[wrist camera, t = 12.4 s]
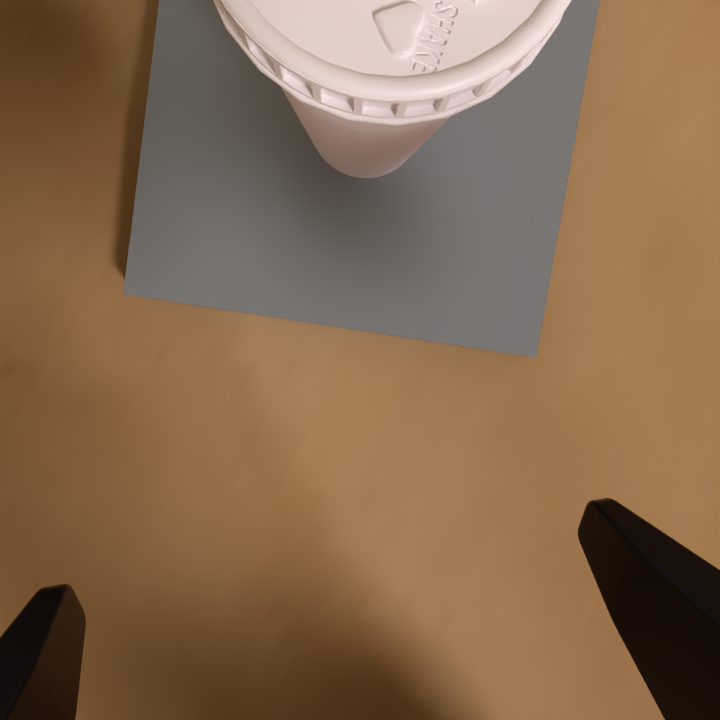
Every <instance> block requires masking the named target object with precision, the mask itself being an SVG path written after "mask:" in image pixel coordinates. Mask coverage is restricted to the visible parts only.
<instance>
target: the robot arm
mask: <svg viewBox="0 0 720 720" xmlns="http://www.w3.org/2000/svg"><path fill="white" fill-rule="evenodd" d="M578 537H579V541H580V544H581V546H582V549H583V551H584V554H585V556H586V558H587V561H588V563H589V566H590V568H591V571H592V573H593V575H594V578H595V580H596V583H597V585H598V587H599V590H600V592H601V595H602V597H603V600H604V602H605V604H606V607H607V609H608V611H609V614H610V616H611V618H612V620H613V622H614V624H615V626H616V628H617V630H618V632H619V634H620V636H621V638H622V640H623V642H624V644H625V645H626V647H627V649H628V651H629V653H630V655H631V657H632V659H633V660H634V662H635V664H636V666H637V668H638V670H639V672H640V674H641V675H642V677H643V679H644V681H645V683H646V685H647V687H648V689H649V690H650V692H651V694H652V696H653V698H654V700H655V702H656V704H657V705H658V707H659V709H660V711H661V713H662V715H663V717H664V719H665V720H720V570H719V569H717V568H716V567H714V566H713V565H711V564H710V563H708V562H707V561H705V560H704V559H702V558H701V557H699V556H698V555H696V554H695V553H693V552H692V551H690V550H689V549H687V548H686V547H684V546H683V545H681V544H680V543H678V542H677V541H675V540H674V539H672V538H671V537H669V536H668V535H666V534H665V533H663V532H662V531H660V530H659V529H657V528H656V527H654V526H653V525H651V524H650V523H648V522H647V521H645V520H644V519H642V518H641V517H639V516H638V515H636V514H635V513H633V512H632V511H630V510H629V509H627V508H626V507H624V506H623V505H621V504H620V503H618V502H617V501H615V500H613V499H610V498H604V499H598V500H592V501H590V502H589V503H588V504H587V505H586V508H585V511H584V514H583V516H582V519H581V522H580V525H579V528H578ZM85 626H86V619H85V613H84V610H83V608H82V606H81V604H80V602H79V600H78V598H77V596H76V594H75V592H74V590H73V589H72V587H71V586H70V585H68V584H61V585H55V586H48V587H44V588H42V589H40V590H39V591H38V592H37V593H36V594H35V595H34V596H33V597H32V598H31V600H30V601H29V602H28V603H27V605H26V606H25V607H24V608H23V610H22V611H21V612H20V613H19V615H18V616H17V617H16V618H15V620H14V621H13V622H12V623H11V624H10V626H9V627H8V628H7V629H6V631H5V632H4V633H3V634H2V636H1V637H0V720H75V717H76V709H77V700H78V691H79V682H80V673H81V663H82V654H83V645H84V636H85Z"/></svg>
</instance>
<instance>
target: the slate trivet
mask: <svg viewBox="0 0 720 720" xmlns="http://www.w3.org/2000/svg"><path fill="white" fill-rule="evenodd" d="M598 6H599V0H571V2H570V4H569V5H568V7H567V8H566V10H565V11H564V13H563V16H562V18H561V21H560V23H559V25H558V26H557V28H556V29H555V31H554V32H553V33H552V35H551V36H550V38H549V39H548V40H547V42H546V43H545V45H544V46H543V47H542V49H541V50H540V52H539V53H538V54H537V56H536V57H535V59H534V60H533V62H532V63H531V64H530V66H528V67H527V68H526V69H525V70H524V71H522V72H521V73H520V74H519V75H518V76H516V77H515V78H514V79H513V80H512V81H510V82H509V83H508V84H507V85H506V86H504V87H503V88H502V89H501V90H500V91H498V92H497V93H496V94H495V95H494V96H492V97H491V98H489V99H487V100H485V101H483V102H480V103H478V104H476V105H474V106H472V107H469V108H467V109H465V110H463V111H461V112H458V113H456V114H454V115H452V116H451V117H450V118H449V119H448V120H447V121H445V122H444V123H443V124H442V125H441V126H440V127H439V128H438V129H437V130H436V131H435V132H434V133H433V134H432V135H431V136H430V137H429V138H428V139H427V140H426V141H425V142H424V143H423V144H422V145H421V146H420V147H419V148H418V149H417V150H416V151H415V152H414V153H413V154H412V155H411V156H410V157H409V158H408V159H407V160H406V161H405V162H404V163H403V164H402V165H401V166H399V167H398V168H397V169H395V170H394V171H392V172H390V173H388V174H385V175H383V176H379V177H374V178H357V177H352V176H349V175H346V174H344V173H341V172H339V171H338V170H336V169H334V168H333V167H332V166H330V165H329V164H328V163H327V162H326V161H325V160H324V159H323V158H322V156H321V155H320V154H319V152H318V151H317V149H316V147H315V145H314V144H313V142H312V140H311V138H310V137H309V135H308V133H307V132H306V130H305V128H304V126H303V125H302V123H301V121H300V119H299V118H298V116H297V114H296V112H295V111H294V109H293V107H292V105H291V104H290V102H289V100H288V98H287V97H286V95H285V93H284V91H283V90H282V88H281V86H279V85H278V84H277V83H275V82H274V81H273V80H271V79H270V78H269V77H267V76H266V75H265V74H263V73H262V72H261V71H259V69H258V68H257V67H256V66H255V64H254V63H253V62H252V61H251V59H250V58H249V57H248V56H247V54H246V53H245V52H244V51H243V49H242V48H241V47H240V46H239V44H238V43H237V42H236V41H235V39H234V38H233V37H232V36H231V34H230V33H229V32H228V31H227V29H226V28H225V25H224V23H223V21H222V19H221V17H220V14H219V12H218V10H217V8H216V6H215V3H214V1H213V0H159V4H158V12H157V21H156V29H155V37H154V45H153V53H152V62H151V70H150V78H149V86H148V94H147V103H146V111H145V119H144V127H143V135H142V144H141V152H140V160H139V168H138V176H137V185H136V193H135V201H134V209H133V217H132V226H131V234H130V242H129V250H128V258H127V267H126V275H125V283H124V291H123V294H126V295H133V296H139V297H146V298H152V299H159V300H165V301H172V302H178V303H185V304H191V305H198V306H204V307H211V308H217V309H224V310H230V311H237V312H243V313H250V314H256V315H263V316H269V317H276V318H282V319H289V320H295V321H302V322H308V323H315V324H322V325H328V326H335V327H341V328H348V329H354V330H361V331H367V332H374V333H380V334H387V335H393V336H400V337H406V338H413V339H419V340H426V341H432V342H439V343H445V344H452V345H458V346H465V347H471V348H478V349H484V350H491V351H497V352H504V353H510V354H517V355H523V356H530V357H536V354H537V349H538V343H539V337H540V332H541V326H542V321H543V315H544V309H545V304H546V298H547V292H548V287H549V281H550V276H551V270H552V264H553V259H554V253H555V247H556V242H557V236H558V231H559V225H560V219H561V214H562V208H563V202H564V197H565V191H566V186H567V180H568V174H569V169H570V163H571V157H572V152H573V146H574V141H575V135H576V129H577V124H578V118H579V112H580V107H581V101H582V96H583V90H584V84H585V79H586V73H587V68H588V62H589V56H590V51H591V45H592V39H593V34H594V28H595V23H596V17H597V11H598Z"/></svg>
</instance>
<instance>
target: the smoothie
mask: <svg viewBox="0 0 720 720" xmlns="http://www.w3.org/2000/svg"><path fill="white" fill-rule="evenodd" d="M213 1H214V3H215V6H216V8H217V10H218V12H219V14H220V17H221V19H222V21H223V23H224V25H225V28H226V29H227V31H228V32H229V33H230V34H231V36H232V37H233V38H234V39H235V41H236V42H237V43H238V44H239V46H240V47H241V48H242V49H243V51H244V52H245V53H246V54H247V56H248V57H249V58H250V59H251V61H252V62H253V63H254V64H255V66H256V67H257V68H258V69H259V71H261V72H262V73H263V74H265V75H266V76H267V77H269V78H270V79H271V80H273V81H274V82H275V83H277V84H278V85H279V86H281V88H282V90H283V91H284V93H285V95H286V97H287V98H288V100H289V102H290V104H291V105H292V107H293V109H294V111H295V112H296V114H297V116H298V118H299V119H300V121H301V123H302V125H303V126H304V128H305V130H306V132H307V133H308V135H309V137H310V138H311V140H312V142H313V144H314V145H315V147H316V149H317V151H318V152H319V154H320V155H321V156H322V158H323V159H324V160H325V161H326V162H327V163H328V164H329V165H330V166H332V167H333V168H334V169H336V170H338V171H339V172H341V173H344V174H346V175H349V176H352V177H357V178H374V177H379V176H383V175H385V174H388V173H390V172H392V171H394V170H395V169H397V168H398V167H399V166H401V165H402V164H403V163H404V162H405V161H406V160H407V159H408V158H409V157H410V156H411V155H412V154H413V153H414V152H415V151H416V150H417V149H418V148H419V147H420V146H421V145H422V144H423V143H424V142H425V141H426V140H427V139H428V138H429V137H430V136H431V135H432V134H433V133H434V132H435V131H436V130H437V129H438V128H439V127H440V126H441V125H442V124H443V123H444V122H445V121H447V120H448V119H449V118H450V117H451V116H452V115H454V114H456V113H458V112H461V111H463V110H465V109H467V108H469V107H472V106H474V105H476V104H478V103H480V102H483V101H485V100H487V99H489V98H491V97H492V96H494V95H495V94H496V93H497V92H498V91H500V90H501V89H502V88H503V87H504V86H506V85H507V84H508V83H509V82H510V81H512V80H513V79H514V78H515V77H516V76H518V75H519V74H520V73H521V72H522V71H524V70H525V69H526V68H527V67H528V66H530V64H531V63H532V62H533V60H534V59H535V57H536V56H537V54H538V53H539V52H540V50H541V49H542V47H543V46H544V45H545V43H546V42H547V40H548V39H549V38H550V36H551V35H552V33H553V32H554V31H555V29H556V28H557V26H558V25H559V23H560V21H561V18H562V16H563V13H564V11H565V10H566V8H567V7H568V5H569V4H570V2H571V0H213Z"/></svg>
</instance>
